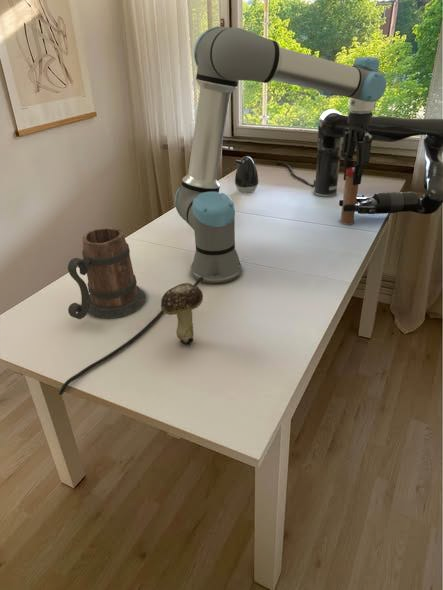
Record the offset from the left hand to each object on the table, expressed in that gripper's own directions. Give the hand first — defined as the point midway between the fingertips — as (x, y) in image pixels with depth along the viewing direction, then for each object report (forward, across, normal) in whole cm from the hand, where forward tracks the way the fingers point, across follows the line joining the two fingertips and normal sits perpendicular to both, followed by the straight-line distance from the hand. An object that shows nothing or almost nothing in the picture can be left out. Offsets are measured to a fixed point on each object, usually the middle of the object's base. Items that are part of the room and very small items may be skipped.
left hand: (351, 181), depth 156 cm
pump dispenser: (+15, -46, -20) cm, 53 cm away
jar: (+15, 0, 0) cm, 15 cm away
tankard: (+15, +22, -91) cm, 95 cm away
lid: (-4, 0, 0) cm, 4 cm away
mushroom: (+15, +45, -75) cm, 89 cm away
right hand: (+9, -1, -2) cm, 9 cm away
